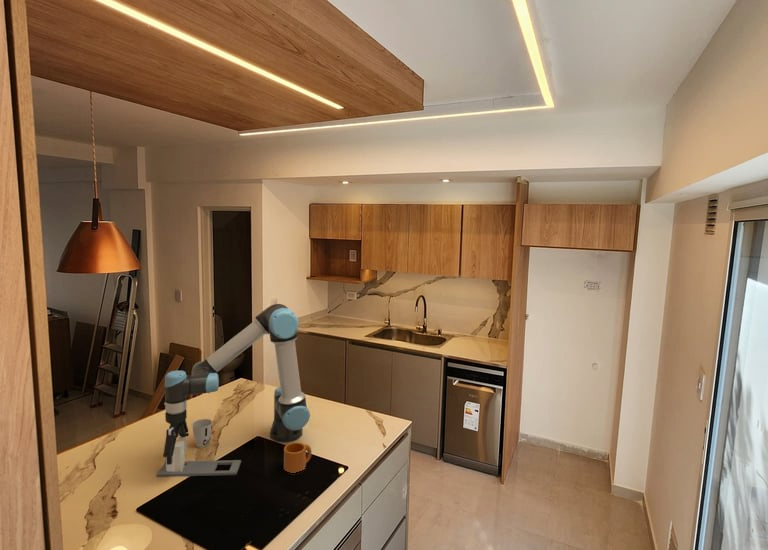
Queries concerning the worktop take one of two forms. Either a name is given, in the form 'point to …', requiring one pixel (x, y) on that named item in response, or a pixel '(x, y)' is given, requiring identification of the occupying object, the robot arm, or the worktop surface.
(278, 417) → the robot arm
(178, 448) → the plug
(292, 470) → the mug
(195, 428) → the cup
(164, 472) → the socket strip
